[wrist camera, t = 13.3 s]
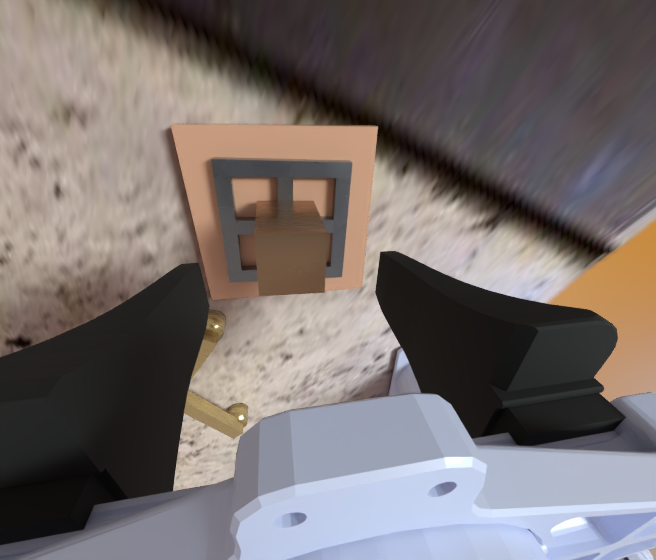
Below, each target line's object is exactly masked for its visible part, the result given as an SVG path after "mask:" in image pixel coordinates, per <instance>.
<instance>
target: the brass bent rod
mask: <svg viewBox="0 0 656 560" xmlns="http://www.w3.org/2000/svg"><path fill="white" fill-rule="evenodd" d="M225 322H226V318H225V316H224V314H222V313H221V312H219V311H215V310H211V311H209V313H208V321H207V327H206V331H205V334H204V338H203V341H202V344H201V348H200V351H199V354H198V357H197V360H196V364H195V367H194V370H193V373H192V376H191V379H192V377H193V376H194V375H195V373H196V372H197V371H198V369H199V368H200V366H201V365H202V364H203V362H204V361H205V360H206V358H207V357H208V356H209V354H210V353H211V352H212V350H213V349H214V348H215V346H216V345H217V342H218V340H219V339H221V338H222V336H223V333H224V327H225ZM184 413H185V414H187V415H189V416H191V417H192V418H194V419H196V420H198V421H200V422H202V423H204V424H206V425H208V426H210V427H212V428H214V429H216V430H218V431H220V432H222V433H224V434H226V435H228V436H230V437H232V438H233V439H234V438H235V437H237V436H239V435H240V434H242V433H243V428H244V427H245V426H246V425H247V419H248V406H247V405H245V404H242V403H237V404H234V405H232V406H231V407H230V409H229V413H227V412H225V411H224V410H222V409H220V408H218V407H217V406H215V405H213V404H211V403H210V402H208V401H206V400H204V399H203V398H201V397H199V396H197V395H196V394H194V393H192V392H190V391H189V390H188V393H187V399H186V404H185V410H184Z"/></svg>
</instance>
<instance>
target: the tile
mask: <svg viewBox="0 0 656 560" xmlns="http://www.w3.org/2000/svg"><path fill="white" fill-rule="evenodd" d="M171 129H172V133H173V137H174V141H175V146H176V150H177V154H178V158H179V163H180V167H181V171H182V175H183V180H184V184H185V188H186V192H187V196H188V201H189V205H190V209H191V213H192V218H193V222H194V226H195V230H196V235H197V239H198V243H199V247H200V252H201V256H202V260H203V264H204V269H205V273H206V277H207V281H208V285H209V290H210V294H211V298H212V300H221V299H233V298H245V297H258V296H259V288H258V281H253V282H231V283H229V277H228V270H227V263H226V256H225V250H224V243H223V236H222V229H221V223H220V216H219V209H218V203H217V196H216V189H215V182H214V176H213V169H212V162H211V159H212V158H213V157H234V158H273V159H313V160H350V161H351V162H353V164H352V174H351V185H350V196H349V207H348V218H347V229H346V240H345V251H344V262H343V273H342V277H337V278H325V291H330V290H342V289H354V288H362V282H363V272H364V262H365V252H366V241H367V231H368V221H369V211H370V201H371V191H372V181H373V171H374V161H375V151H376V141H377V131H378V126H374V125H289V124H184V123H175V124H171ZM232 181H233V189H234V198H235V206H236V215H237V217H256V206H257V201H278V188H277V177H232ZM333 189H334V178H293V201H314V203H315V205H316V207H317V210H318V212H319V214H320V216H332V206H333ZM330 238H331V233H328V240H327V258H326V263H327V262H329V254H330ZM239 241H240V249H241V258H242V266H248V265H256V253H255V242H254V234H245V235H239Z"/></svg>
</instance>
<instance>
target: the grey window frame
mask: <svg viewBox="0 0 656 560" xmlns="http://www.w3.org/2000/svg"><path fill="white" fill-rule="evenodd" d="M211 162H212V169H213V176H214V182H215V189H216V196H217V203H218V209H219V216H220V223H221V229H222V236H223V243H224V250H225V256H226V263H227V270H228V277H229V283H231V282H253V281H258V288H259V296H270V295H288V294H306V293H324V292H325V278H337V277H342V273H343V262H344V251H345V240H346V229H347V218H348V207H349V196H350V185H351V174H352V164H353V162H351V161H350V160H313V159H273V158H234V157H213V158H212V159H211ZM232 177H277V188H278V201H257V206H256V217H237V215H236V206H235V198H234V189H233V181H232ZM293 178H334V189H333V206H332V216H320V214H319V212H318V210H317V207H316V205H315V203H314V201H293ZM328 233H331V238H330V254H329V262H327V263H326V258H327V240H328ZM245 234H254V242H255V253H256V265H248V266H242V258H241V249H240V241H239V235H245Z"/></svg>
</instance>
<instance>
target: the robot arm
mask: <svg viewBox="0 0 656 560" xmlns="http://www.w3.org/2000/svg"><path fill="white" fill-rule="evenodd" d="M375 293H376V296H377V299H378V302H379V305H380V307H381V310H382V312H383V314H384V316H385V318H386V320H387V322H388V324H389V325H390V327H391V329H392V331H393V333H394V335H395V336H396V338H397V340H398V342H399V344H400V345H401V347H402V348H400V349H399V350H398V352H397V356H396V361H395V366H394V371H393V376H392V380H391V385H390V390H389V395H388V396H383V397H376V398H369V399H362V400H355V401H348V402H341V403H334V404H327V405H320V406H313V407H306V408H299V409H292V410H288V411H284V412H281V413H278V414H275V415H272V416H268V417H265V418H263V419H262V420H260V421H259V422H258V423H257V424H255V425H254V426H253V427H252V428H250V429H249V430H248V431H247V432H245V433H244V434H243V435H242V436H241V437H240V440H239V444H238V449H237V453H236V463H235V474H234V477H233V478H230V479H228V480H225V481H222V482H219V483H217V484H212V485H206V486H200V487H195V488H189V489H183V490H177V491H173V485H174V476H175V469H176V461H177V454H178V447H179V440H180V434H181V428H182V421H183V415H184V410H185V404H186V399H187V393H188V388H189V384H190V380H191V376H192V373H193V370H194V367H195V364H196V360H197V357H198V354H199V351H200V348H201V344H202V341H203V338H204V334H205V331H206V327H207V321H208V313H209V303H208V299H207V295H206V291H205V287H204V282H203V278H202V274H201V270H200V266H199V263H191V264H181V265H179V266H177V267H176V268H174V269H173V270H171V271H170V272H168V273H167V274H166V275H164V276H163V277H161V278H160V279H158V280H157V281H156V282H154V283H153V284H151V285H150V286H148V287H147V288H146V289H144V290H143V291H141V292H139V293H138V294H136V295H135V296H133V297H132V298H130V299H128V300H127V301H125V302H124V303H122V304H121V305H119V306H117V307H115V308H114V309H112V310H110V311H108V312H106V313H105V314H103V315H101V316H99V317H97V318H95V319H93V320H91V321H89V322H87V323H85V324H83V325H81V326H78V327H76V328H74V329H72V330H69V331H67V332H65V333H63V334H60V335H58V336H56V337H54V338H51V339H49V340H46V341H44V342H41V343H39V344H36V345H34V346H31V347H28V348H26V349H23V350H20V351H17V352H15V353H12V354H9V355H6V356H4V357H1V358H0V560H654V559H653V556H652V555H651V553H650V552H649V549H652V548H656V393H653V392H647V393H641V394H635V395H629V396H623V397H619V398H616V399H615V400H613V401H611V402H608V401H607V400H606V399H605V398H604V397H603V396H602V395H600V394H599V393H600V392H602V391H603V390H604V387H603V385H602V384H600V383H599V382H598V381H597V380H596V379H594V376H595V375H596V374H597V372H598V371H599V369H600V368H601V367H602V365H603V364H604V363H605V361H606V360H607V359H608V357H609V356H610V355H611V353H612V351H613V350H614V348H615V346H616V342H617V339H618V336H617V329H616V328H615V327H614V325H613V324H612V323H610V322H608V321H607V320H606V319H604V318H603V317H601V316H600V315H598V314H597V313H595V312H593V311H591V310H587V309H580V308H573V307H565V306H558V305H551V304H545V303H540V302H535V301H529V300H524V299H520V298H515V297H511V296H507V295H503V294H500V293H496V292H492V291H489V290H485V289H482V288H479V287H476V286H473V285H470V284H468V283H465V282H462V281H459V280H457V279H455V278H452V277H450V276H448V275H445V274H443V273H441V272H439V271H436V270H434V269H432V268H430V267H428V266H426V265H424V264H422V263H420V262H418V261H416V260H414V259H412V258H410V257H408V256H406V255H404V254H401V253H399V252H396V251H387V252H380V260H379V268H378V276H377V284H376V291H375Z"/></svg>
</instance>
